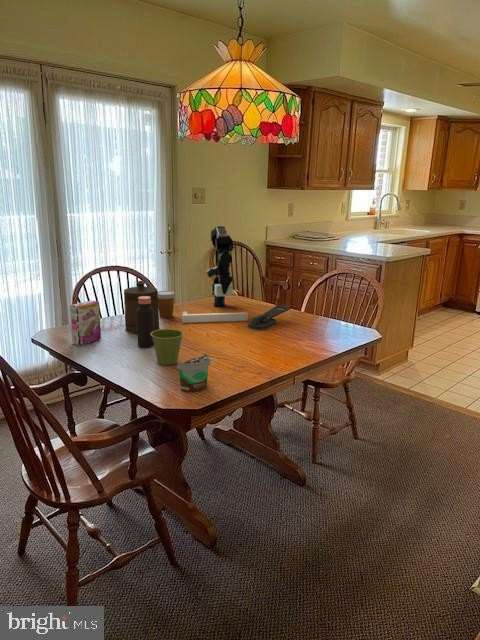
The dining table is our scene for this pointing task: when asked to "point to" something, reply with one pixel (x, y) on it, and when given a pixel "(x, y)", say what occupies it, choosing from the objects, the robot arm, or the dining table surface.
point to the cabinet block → (220, 292)
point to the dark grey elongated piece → (264, 322)
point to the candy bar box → (85, 322)
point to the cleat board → (214, 317)
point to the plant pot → (167, 345)
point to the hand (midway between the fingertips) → (223, 292)
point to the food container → (194, 374)
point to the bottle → (145, 322)
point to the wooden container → (132, 305)
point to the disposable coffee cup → (166, 303)
